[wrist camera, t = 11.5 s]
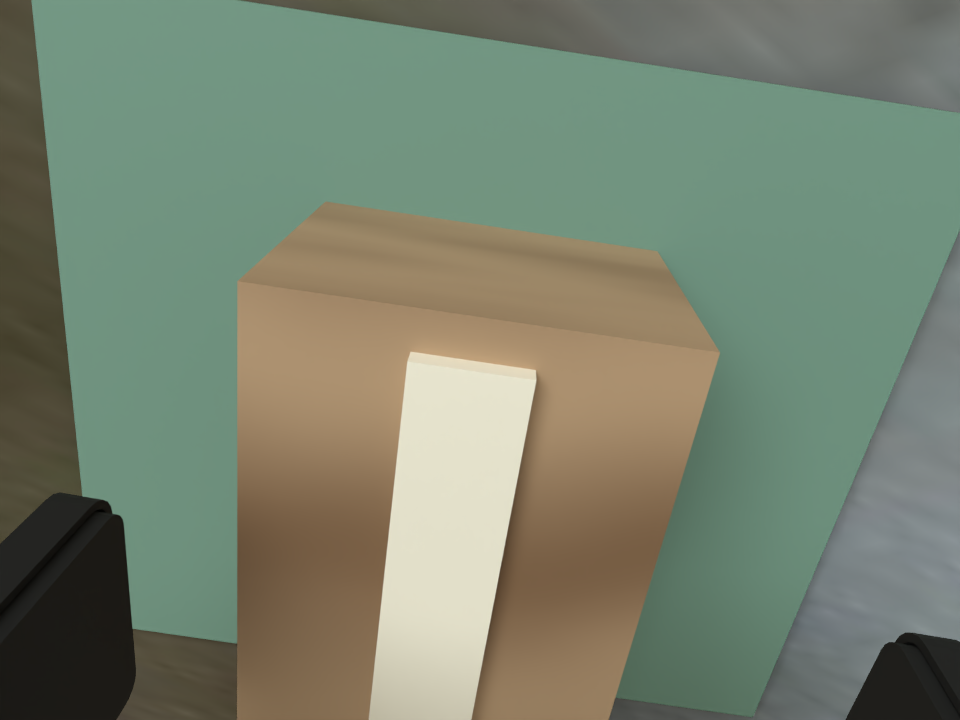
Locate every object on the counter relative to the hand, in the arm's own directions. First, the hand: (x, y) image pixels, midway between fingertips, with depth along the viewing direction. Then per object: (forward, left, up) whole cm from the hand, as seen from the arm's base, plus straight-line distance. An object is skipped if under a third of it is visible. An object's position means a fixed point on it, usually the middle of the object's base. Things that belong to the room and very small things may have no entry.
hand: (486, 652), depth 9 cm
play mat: (+1, 0, -7) cm, 7 cm away
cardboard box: (+1, 0, -6) cm, 6 cm away
